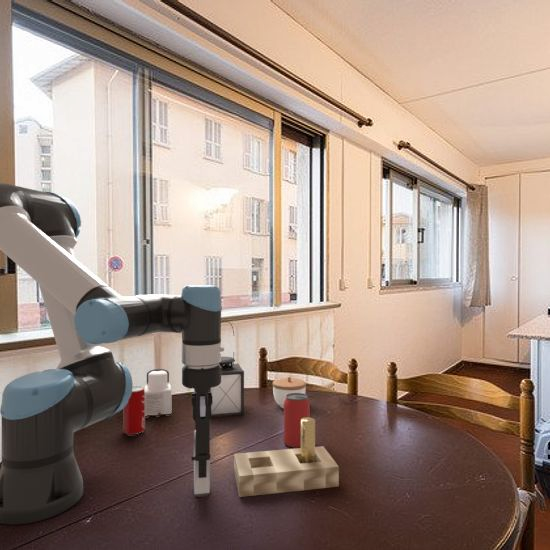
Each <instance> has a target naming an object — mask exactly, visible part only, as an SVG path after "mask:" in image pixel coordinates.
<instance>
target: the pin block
mask: <svg viewBox="0 0 550 550" xmlns="http://www.w3.org/2000/svg"><path fill="white" fill-rule="evenodd" d="M233 473H234V478H235V483H236V488H237V492H238V493H237V494H238V497H239V498H243V497H244V498H245V497H250V496H251V497H253V496H261V495H262V496H263V495H271V494H273V495H274V494H280V493H290V492H299V491H309V490H317V489H327V488H328V489H329V488H336V487H337V488H338V487H339V485H340V482H339V481H340V480H339V478H340V476H339V475H340V466H339V465H338V464H337V462H336V461H335V460H334V458H333V457H332V456H331V454H330V453H329V452H328V451H327V449H326V448H325V446H323V445H321V446H315V462H312V463H302V464H301V448H288V449H287V448H284V449H273V450H265V451H264V450H263V451H262V450H261V451H253V452H251V451H250V452H242V453H241V452H240V453H234V454H233Z"/></svg>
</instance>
